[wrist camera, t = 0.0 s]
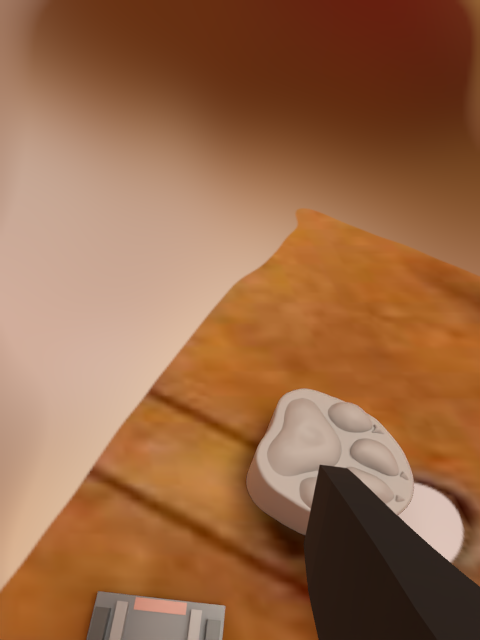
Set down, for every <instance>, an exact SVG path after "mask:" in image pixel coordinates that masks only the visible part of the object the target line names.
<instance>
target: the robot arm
mask: <svg viewBox="0 0 480 640" xmlns="http://www.w3.org/2000/svg"><path fill="white" fill-rule="evenodd" d="M304 552H305V563H306V573H307V582H308V592H309V597H310V601H311V606H312V611H313V615H314V620H315V625H316V629H317V634H318V638H319V640H480V587H479V586H478V585H477V584H476V583H474V582H473V581H472V580H471V579H469V578H468V577H467V576H466V575H464V574H463V573H462V572H461V571H459V570H458V569H457V568H456V567H455V566H454V565H452V564H451V563H450V562H449V561H448V560H447V559H445V558H444V557H443V556H442V555H441V554H439V553H438V552H437V551H436V550H434V549H433V548H432V547H431V546H430V545H429V544H428V543H427V542H426V541H425V540H423V539H422V538H421V537H420V536H419V535H418V534H416V532H414V531H413V530H412V529H411V528H410V527H409V526H408V525H407V524H406V523H405V522H404V521H403V520H402V519H401V518H400V517H398V516H397V515H396V514H395V513H394V512H393V511H392V510H391V509H390V508H389V507H388V506H387V505H386V504H385V503H384V502H383V501H382V500H381V499H380V498H379V497H378V496H377V495H376V494H375V493H374V492H373V491H372V490H371V489H370V488H369V487H367V486H366V485H365V484H364V483H363V482H362V481H361V480H360V479H359V478H358V477H357V476H356V475H355V474H354V473H353V472H351V471H350V470H349V469H348V468H343V467H335V466H327V465H319V470H318V475H317V480H316V485H315V490H314V495H313V500H312V505H311V510H310V515H309V520H308V525H307V530H306V535H305V540H304Z"/></svg>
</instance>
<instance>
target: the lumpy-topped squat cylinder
mask: <svg viewBox="0 0 480 640" xmlns="http://www.w3.org/2000/svg"><path fill="white" fill-rule="evenodd" d="M319 465H327V466H335V467H343V468H348V469H349V470H350V471H351V472H353V473H354V474H355V475H356V476H357V477H358V478H359V479H360V480H361V481H362V482H363V483H364V484H365V485H366V486H367V487H369V488H370V489H371V490H372V491H373V492H374V493H375V494H376V495H377V496H378V497H379V498H380V499H381V500H382V501H383V502H384V503H385V504H386V505H387V506H388V507H389V508H390V509H391V510H392V511H393V512H394V513H395V514H396V515H399V514H400V513H401V512H402V511H404V510H405V508H406V507H407V506H408V505H409V503H410V502H411V499H412V496H413V491H414V481H413V475H412V472H411V469H410V466H409V463H408V461H407V459H406V456H405V454H404V452H403V451H402V449H401V447H400V446H399V444H398V443H397V442H396V440H395V439H394V438H393V437H392V436H391V434H390V433H389V432H388V431H387V430H386V429H385V428H384V427H383V426H382V424H381V423H380V422H379V421H377V420H376V419H375V418H374V417H372V416H370V415H369V414H367V413H365V411H364V410H363V409H361V408H360V407H359V406H357V405H355V404H352V403H348V402H344V401H342V400H340V399H337V398H335V397H332V396H329V395H327V394H324V393H321V392H318V391H315V390H311V389H297V390H293V391H291V392H288V393H286V394H285V395H284V396H283V397H282V398H281V399H280V400H279V402H278V404H277V407H276V409H275V411H274V414H273V416H272V419H271V421H270V424H269V426H268V428H267V431H266V433H265V436H264V437H263V439H262V440H261V442H260V443H259V445H258V447H257V450H256V452H255V455H254V457H253V460H252V463H251V465H250V468H249V470H248V473H247V477H246V485H247V489H248V492H249V495H250V497H251V498H252V500H253V501H254V503H255V504H256V505H257V506H258V507H259V508H260V509H261V510H262V511H264V512H265V513H266V514H268V515H269V516H271V517H273V518H274V519H276V520H277V521H279V522H280V523H282V524H283V525H285V526H287V527H289V528H291V529H293V530H295V531H297V532H299V533H301V534H303V535H306V530H307V525H308V520H309V515H310V510H311V505H312V500H313V495H314V490H315V485H316V480H317V475H318V470H319Z"/></svg>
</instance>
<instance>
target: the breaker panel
mask: <svg viewBox="0 0 480 640" xmlns="http://www.w3.org/2000/svg"><path fill="white" fill-rule="evenodd" d="M224 615H225V606H222V605H214V604H205V603H196V602H188V601H179V600H170V599H161V598H153V597H144V596H135V595H126V594H118V593H109V592H100V591H98V593H97V598H96V602H95V606H94V610H93V614H92V618H91V622H90V627H89V631H88V635H87V639H86V640H222V636H223V626H224Z"/></svg>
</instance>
